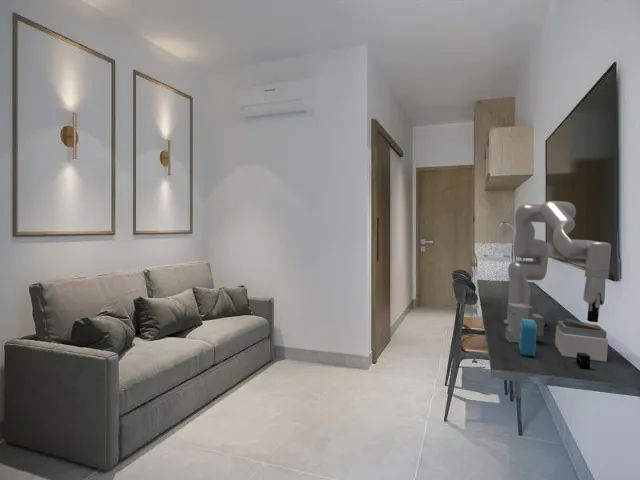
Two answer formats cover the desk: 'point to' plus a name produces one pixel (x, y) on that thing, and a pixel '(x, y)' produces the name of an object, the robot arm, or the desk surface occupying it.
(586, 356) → the black slotted block
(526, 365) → the desk surface
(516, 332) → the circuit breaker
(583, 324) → the rocker
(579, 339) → the switch panel
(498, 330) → the desk surface
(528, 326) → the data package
